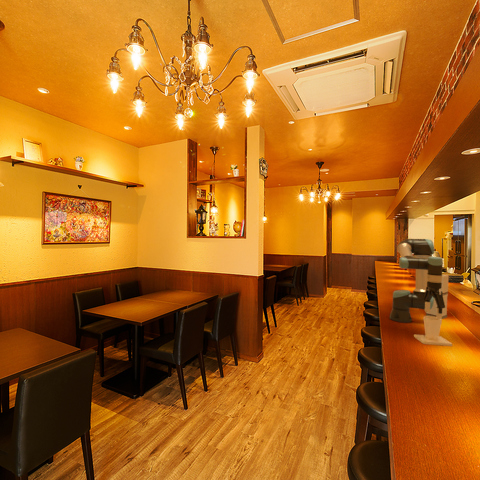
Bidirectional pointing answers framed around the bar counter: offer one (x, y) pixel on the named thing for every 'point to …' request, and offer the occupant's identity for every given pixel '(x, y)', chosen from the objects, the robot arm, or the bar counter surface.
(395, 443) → the bar counter surface
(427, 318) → the foam cup
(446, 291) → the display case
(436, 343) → the tile
